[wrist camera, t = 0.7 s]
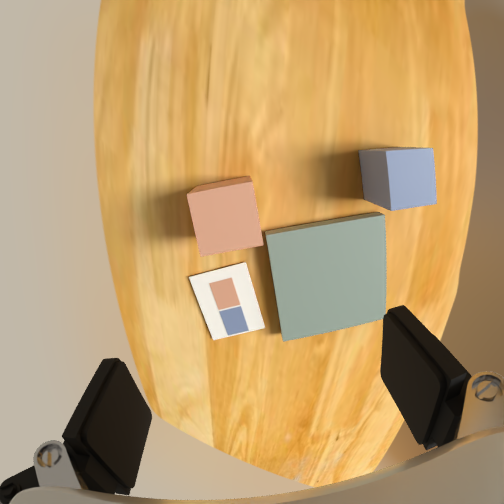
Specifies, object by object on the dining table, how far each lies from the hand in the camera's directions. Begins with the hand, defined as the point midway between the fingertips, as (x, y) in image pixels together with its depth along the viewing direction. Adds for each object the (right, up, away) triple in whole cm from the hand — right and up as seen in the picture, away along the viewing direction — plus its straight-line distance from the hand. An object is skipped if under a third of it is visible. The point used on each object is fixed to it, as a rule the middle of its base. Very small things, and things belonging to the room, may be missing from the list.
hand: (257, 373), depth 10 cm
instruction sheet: (-3, -1, +22) cm, 22 cm away
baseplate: (+8, +2, +21) cm, 23 cm away
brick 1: (-2, +8, +19) cm, 21 cm away
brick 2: (+13, +12, +18) cm, 26 cm away
